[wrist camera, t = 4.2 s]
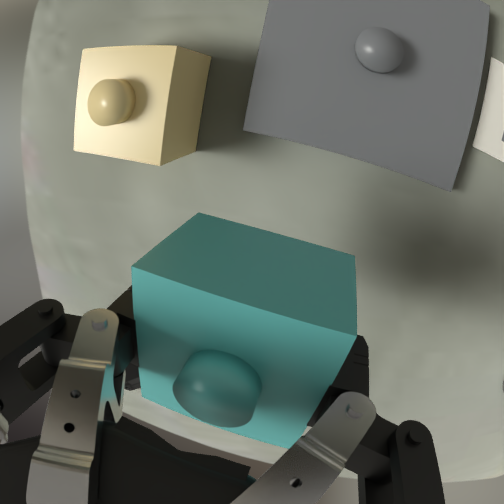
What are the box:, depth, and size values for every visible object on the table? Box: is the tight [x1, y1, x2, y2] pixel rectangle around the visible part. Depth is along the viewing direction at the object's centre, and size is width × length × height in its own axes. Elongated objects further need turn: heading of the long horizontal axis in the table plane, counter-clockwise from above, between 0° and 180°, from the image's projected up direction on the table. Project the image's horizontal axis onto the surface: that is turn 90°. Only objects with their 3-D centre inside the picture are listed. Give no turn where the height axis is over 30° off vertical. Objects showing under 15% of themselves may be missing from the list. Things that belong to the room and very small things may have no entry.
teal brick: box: [131, 213, 357, 449], centre depth 11 cm, size 6×6×6 cm
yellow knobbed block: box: [74, 45, 211, 166], centre depth 15 cm, size 6×6×6 cm
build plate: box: [243, 0, 490, 192], centre depth 13 cm, size 12×12×2 cm
